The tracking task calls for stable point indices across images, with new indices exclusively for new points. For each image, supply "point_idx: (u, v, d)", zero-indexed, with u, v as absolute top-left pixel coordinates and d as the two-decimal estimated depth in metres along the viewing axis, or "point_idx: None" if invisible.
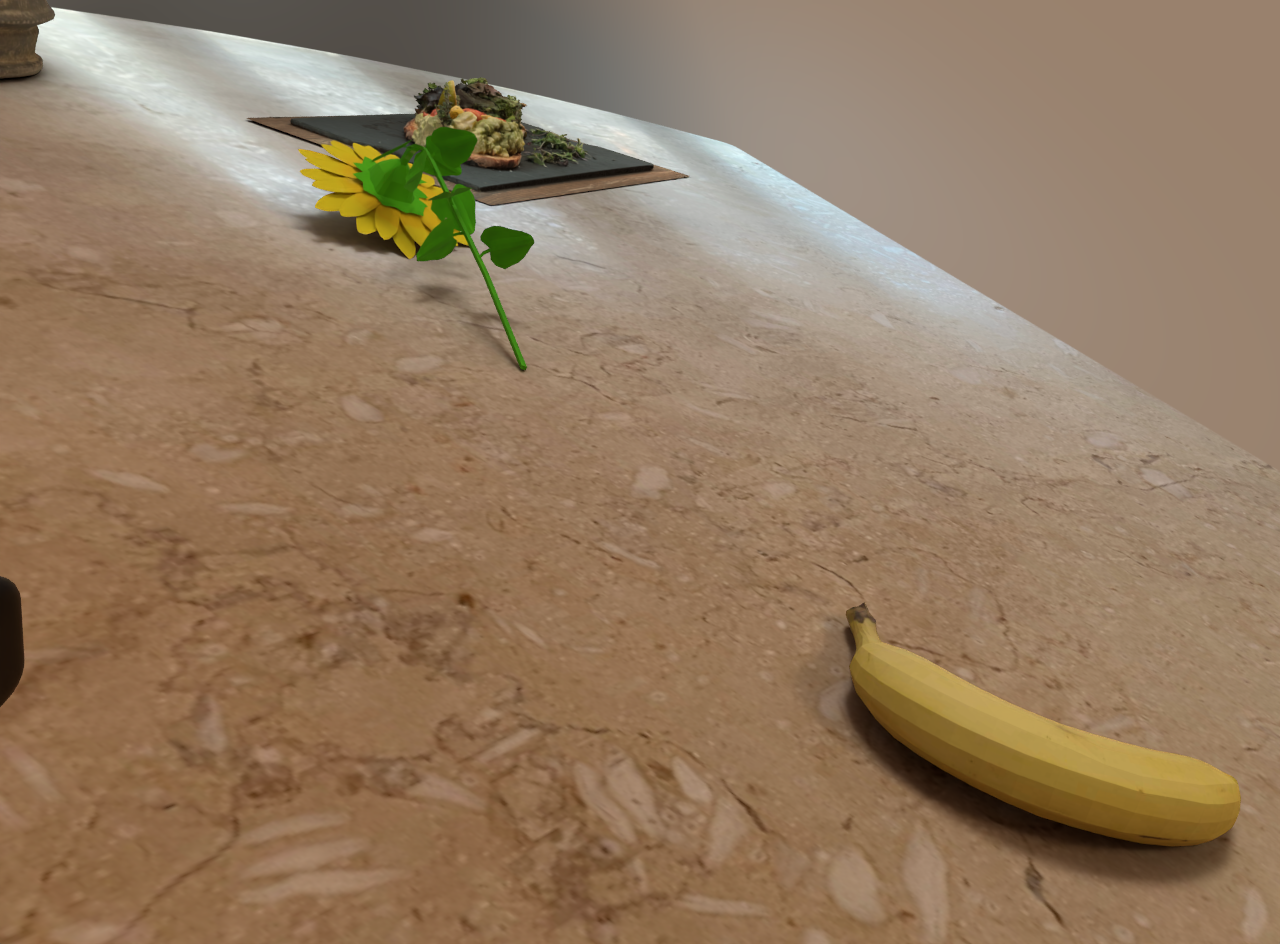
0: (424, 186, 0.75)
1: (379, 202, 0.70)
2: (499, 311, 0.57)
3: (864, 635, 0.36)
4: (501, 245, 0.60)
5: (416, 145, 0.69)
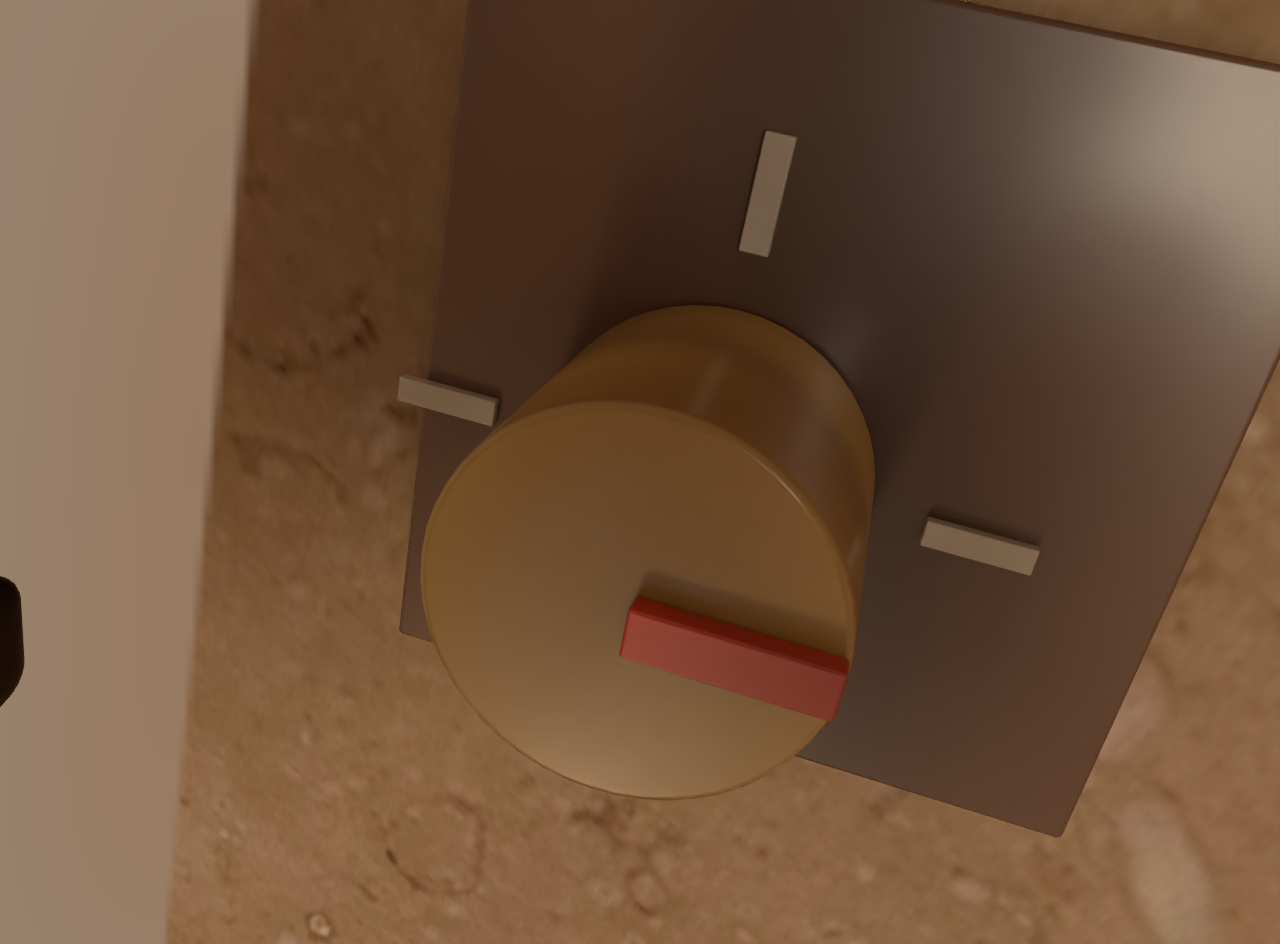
0: None
1: None
2: None
3: None
4: None
5: None
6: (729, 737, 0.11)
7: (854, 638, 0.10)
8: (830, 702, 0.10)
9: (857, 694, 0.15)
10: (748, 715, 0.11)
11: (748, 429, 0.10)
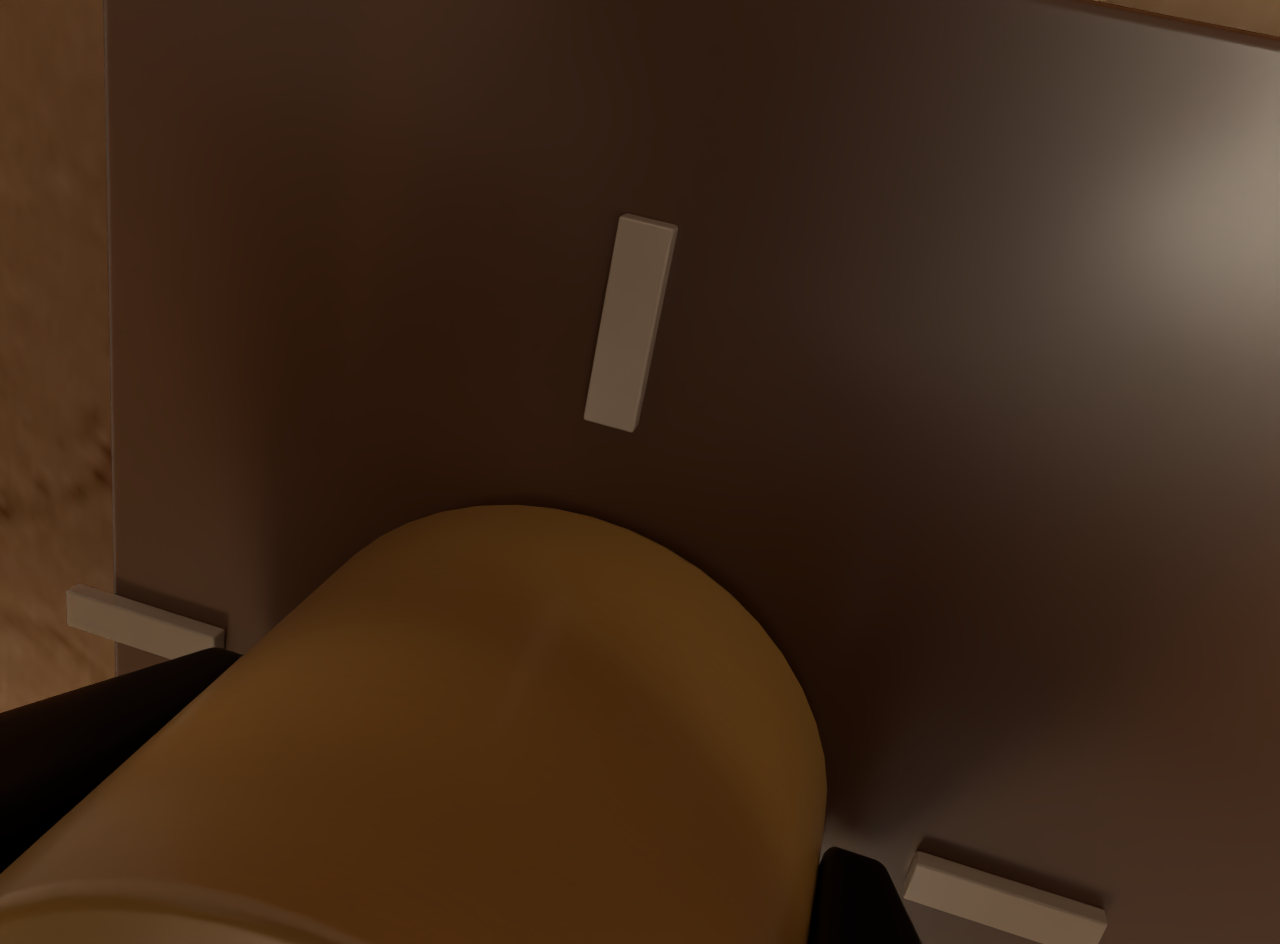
0: None
1: None
2: None
3: None
4: None
5: None
6: None
7: None
8: None
9: None
10: None
11: (500, 943, 0.04)
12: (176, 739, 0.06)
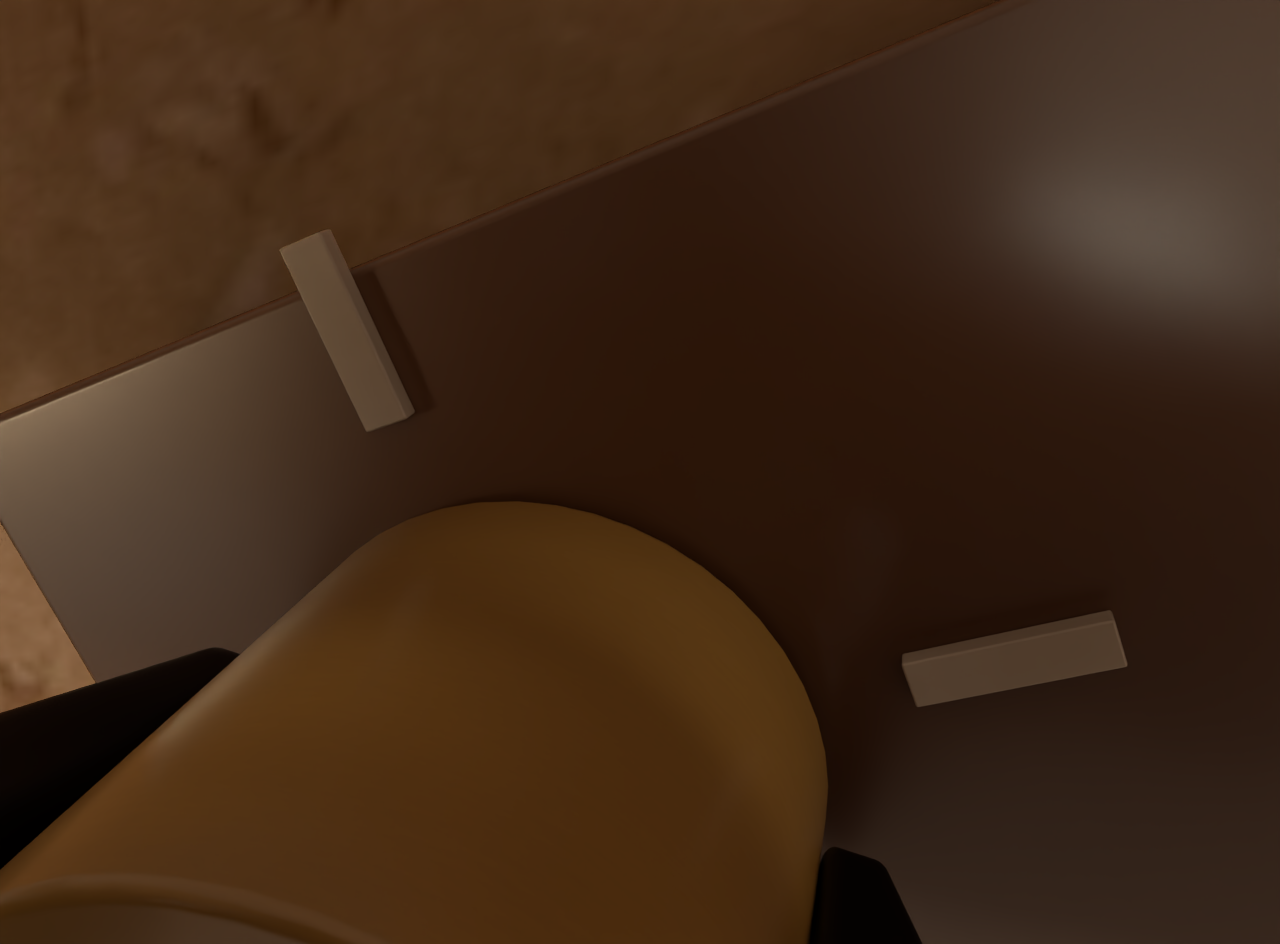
0: None
1: None
2: None
3: None
4: None
5: None
6: None
7: None
8: None
9: None
10: None
11: (502, 939, 0.04)
12: (176, 735, 0.05)
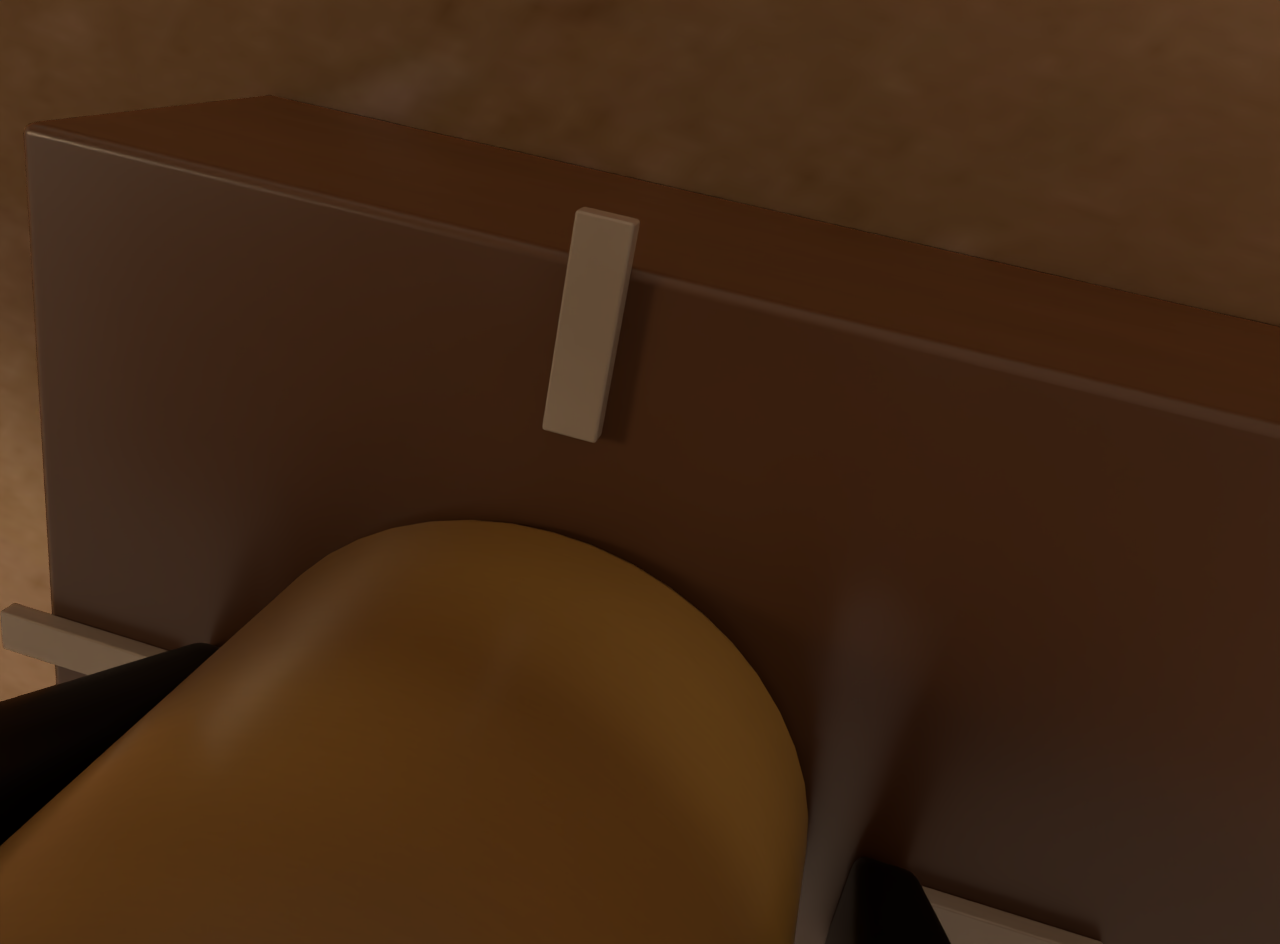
0: None
1: None
2: None
3: None
4: None
5: None
6: None
7: None
8: None
9: None
10: None
11: None
12: (83, 795, 0.05)
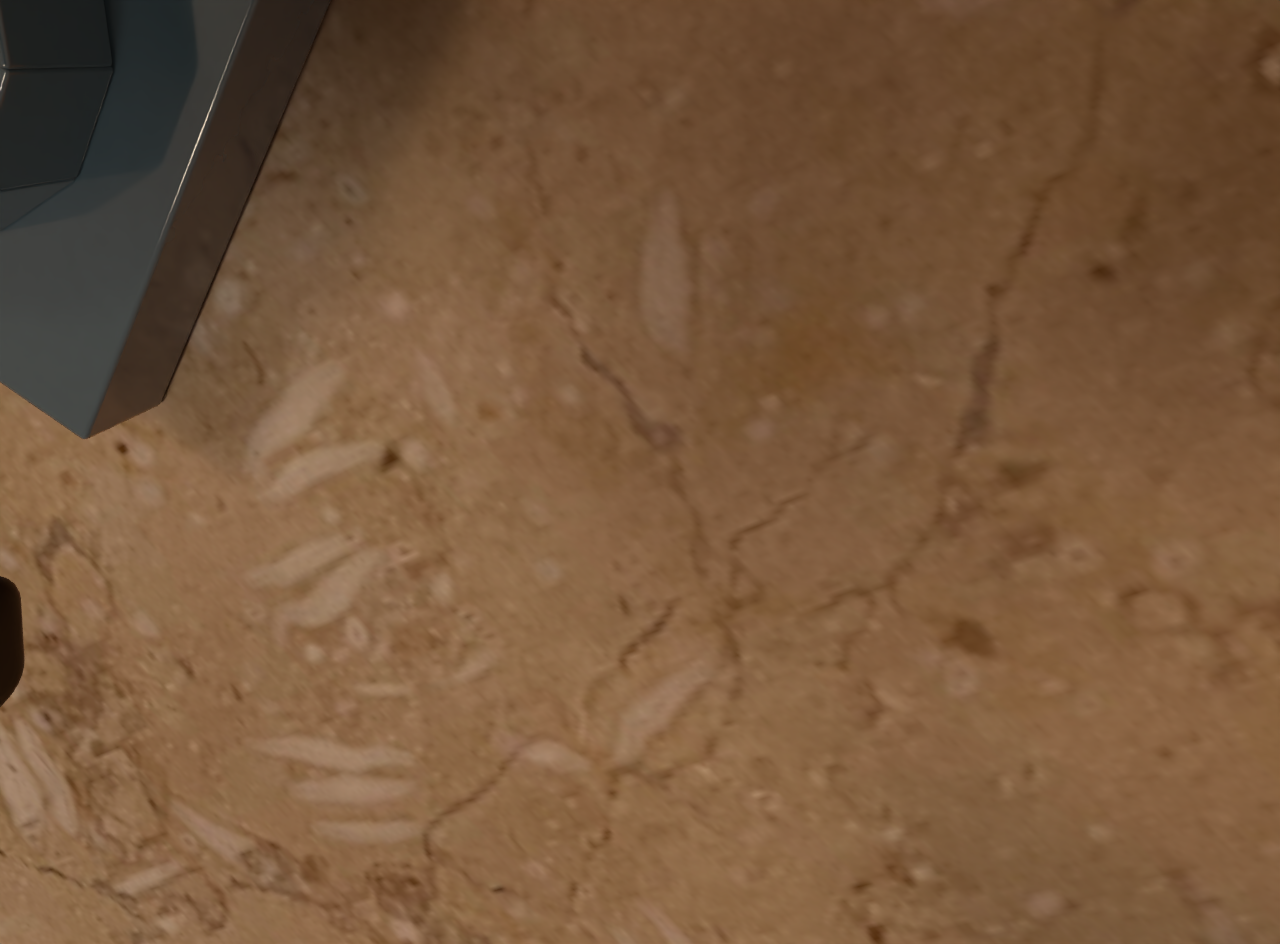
0: None
1: None
2: None
3: None
4: None
5: None
6: None
7: None
8: None
9: None
10: None
11: None
12: None
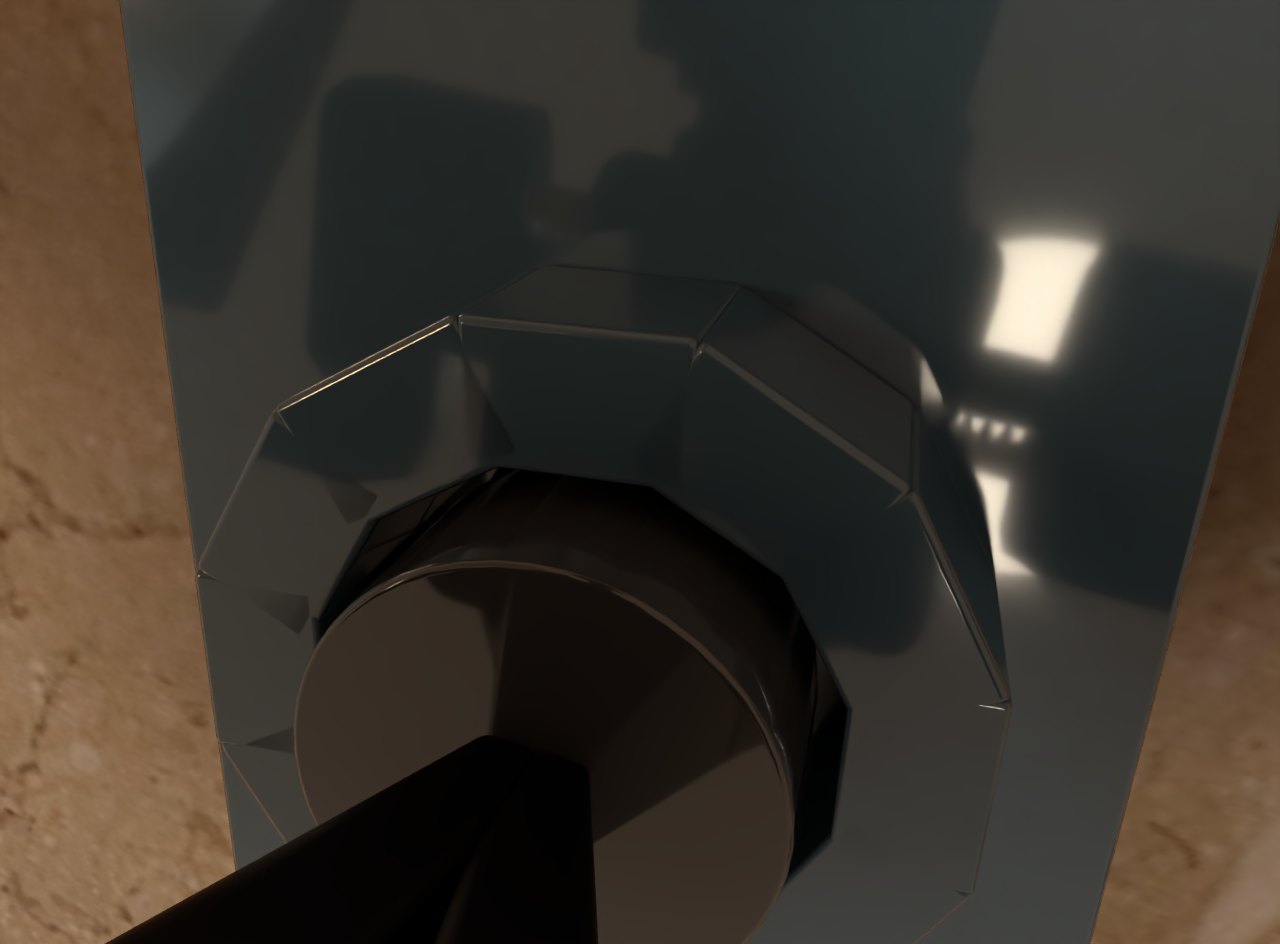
0: None
1: None
2: None
3: None
4: None
5: None
6: None
7: None
8: None
9: None
10: None
11: None
12: None
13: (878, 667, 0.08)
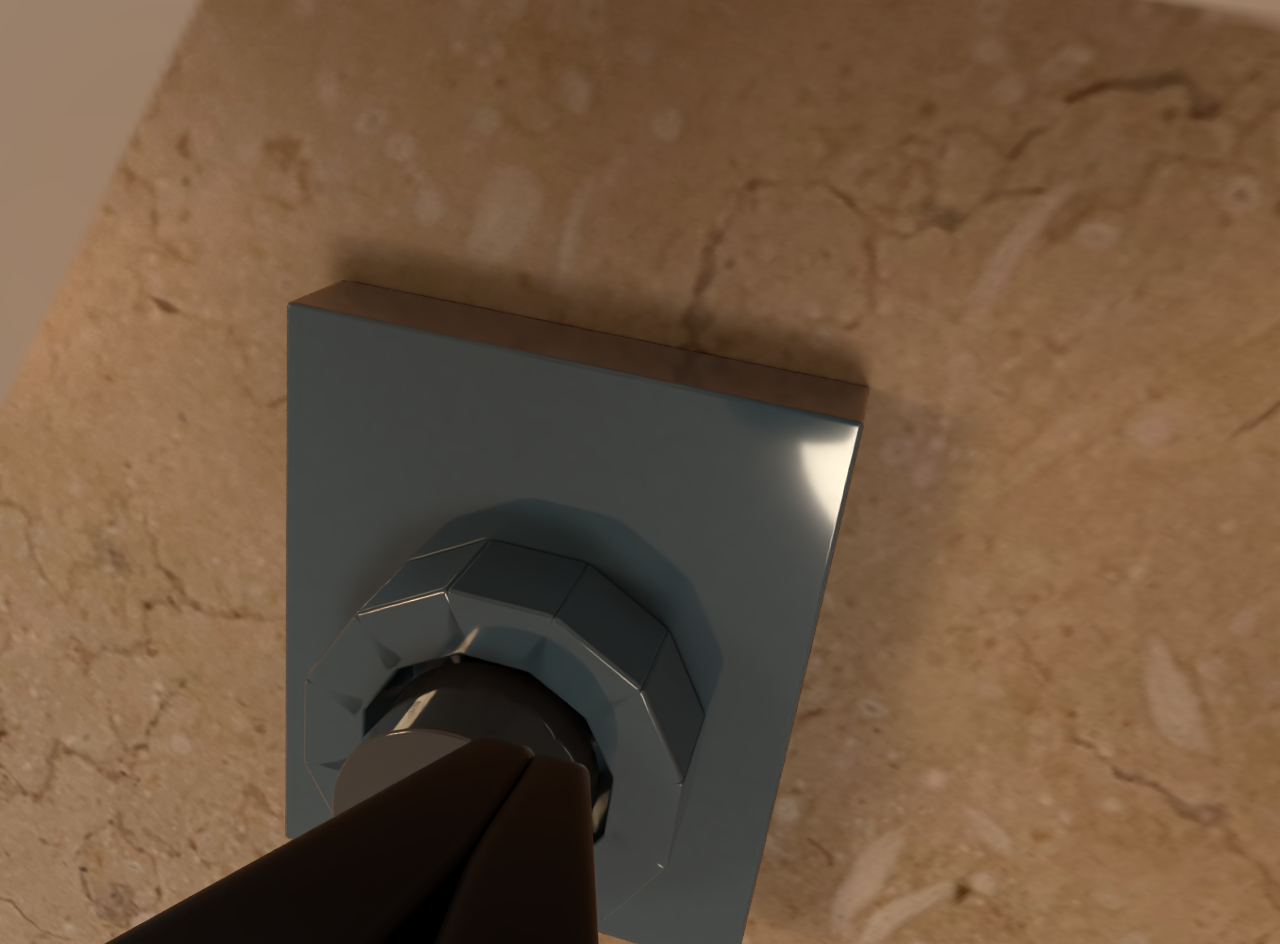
0: None
1: None
2: None
3: None
4: None
5: None
6: None
7: None
8: None
9: None
10: None
11: None
12: None
13: (626, 761, 0.18)
